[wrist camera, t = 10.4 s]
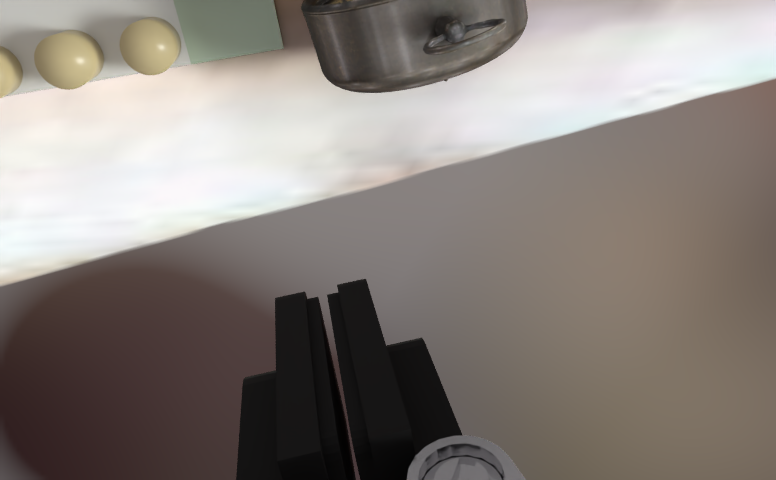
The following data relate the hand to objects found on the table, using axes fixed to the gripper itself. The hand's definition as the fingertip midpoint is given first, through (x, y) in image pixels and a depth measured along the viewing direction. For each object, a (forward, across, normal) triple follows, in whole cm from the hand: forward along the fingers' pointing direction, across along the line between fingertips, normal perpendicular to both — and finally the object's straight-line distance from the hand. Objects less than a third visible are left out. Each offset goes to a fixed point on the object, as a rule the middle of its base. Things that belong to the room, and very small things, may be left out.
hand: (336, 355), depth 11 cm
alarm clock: (+29, -7, -3) cm, 30 cm away
